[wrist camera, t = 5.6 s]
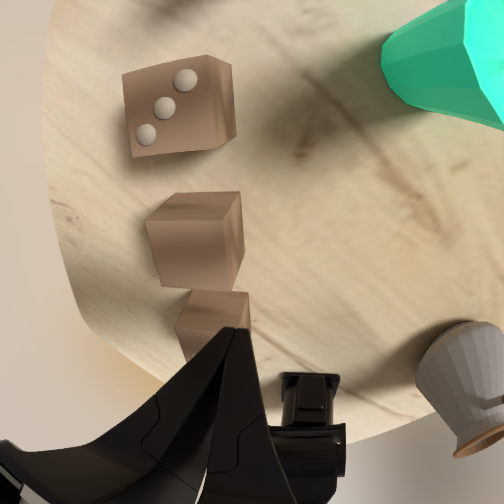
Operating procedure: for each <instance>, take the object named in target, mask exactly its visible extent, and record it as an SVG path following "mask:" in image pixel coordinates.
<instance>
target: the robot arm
mask: <svg viewBox="0 0 504 504" xmlns="http://www.w3.org/2000/svg"><path fill="white" fill-rule="evenodd" d="M339 382H340V376H339V375H327V374H298V373H284V374H283V382H282V402H284V406H283V414H282V422H281V426H270V425H268V423H267V418H266V414H265V409H264V404H263V398H262V393H261V388H260V383H259V378H258V372H257V367H256V362H255V356H254V351H253V345H252V340H251V334H250V330H249V329H248V328H240V327H238V328H236V327H229V326H224V327H223V328H222V329H221V330H220V331H219V332H218V333H217V334H216V335H215V336H214V337H213V338H212V339H211V340H210V341H209V342H208V343H207V344H206V345H205V346H204V347H203V348H202V349H201V350H200V351H199V352H197V353H196V354H195V355H194V356H193V357H192V358H191V359H190V360H189V361H188V362H187V363H186V364H185V365H184V366H183V367H182V368H181V369H180V370H179V371H178V372H177V373H176V374H175V375H174V376H173V377H172V378H171V379H170V380H169V381H168V382H167V383H165V385H163V386H162V387H161V388H160V389H159V390H158V391H157V392H156V394H154V395H153V396H152V397H151V398H149V399H148V400H147V401H146V402H145V403H144V404H143V405H142V406H141V407H139V408H138V409H137V410H136V411H135V412H133V413H132V414H131V415H130V416H128V417H127V418H126V419H124V420H123V421H122V422H120V423H119V424H117V425H116V426H114V427H113V428H112V429H110V430H109V431H107V432H106V433H104V434H103V435H102V436H100V437H99V438H97V439H96V440H94V441H92V442H90V443H88V444H85V445H82V446H77V447H71V448H64V449H56V450H48V451H37V452H26V451H23V450H21V449H20V448H19V447H17V446H16V445H14V444H13V443H12V442H10V441H9V440H6V439H5V440H1V441H0V504H195V501H196V498H197V496H198V492H199V489H200V486H201V484H202V481H203V477H204V475H205V471H206V469H207V471H206V473H207V475H206V478H205V483H204V487H203V490H202V493H201V495H200V498H199V501H198V502H197V504H327V503H328V502H329V500H330V499H331V497H332V496H333V495H334V494H335V492H336V487H337V477H344V476H345V464H346V425H345V423H341V424H336V425H333V399H334V397H335V394H336V391H337V388H338V385H339ZM337 443H339V444H337Z"/></svg>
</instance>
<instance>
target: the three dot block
mask: <svg viewBox="0 0 504 504" xmlns="http://www.w3.org/2000/svg"><path fill="white" fill-rule="evenodd" d="M122 82H123V92H124V102H125V110H126V118H127V126H128V133H129V140H130V146H131V153H132V158H134V157H142V156H149V155H157V154H166V153H175V152H185V151H197V150H210V149H216V148H218V147H219V146H221V145H223V144H224V143H226V142H227V141H229V140H230V139H232V138H234V137H235V136H236V123H235V110H234V96H233V82H232V68H231V64H229V63H227V62H224V61H222V60H219V59H217V58H215V57H212V56H209V55H203V56H197V57H191V58H186V59H181V60H176V61H171V62H167V63H163V64H159V65H154V66H151V67H147V68H143V69H139V70H136V71H132V72H129V73H126V74H123V75H122Z"/></svg>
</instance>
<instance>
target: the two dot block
mask: <svg viewBox="0 0 504 504" xmlns="http://www.w3.org/2000/svg"><path fill="white" fill-rule="evenodd" d="M224 326H229V327H236V328H238V327H240V328H248V329H249V330H250V334H251V321H250V307H249V294H248V292H234V291H231V292H224V291H210V290H198V289H193V291H192V293H191V295H190V297H189V299H188V300H187V302H186V304H185V306H184V308H183V310H182V312H181V314H180V316H179V318H178V320H177V322H176V324H175V326H174V327H175V330H176V333H177V336H178V339H179V342H180V345H181V348H182V351H183V354H184V357H185V359H186V362H188V361H189V360H190V359H191V358H192V357H193V356H194V355H195V354H196V353H197V352H199V351H200V350H201V349H202V348H203V347H204V346H205V345H206V344H207V343H208V342H209V341H210V340H211V339H212V338H213V337H214V336H215V335H216V334H217V333H218V332H219V331H220V330H221V329H222V328H223V327H224Z"/></svg>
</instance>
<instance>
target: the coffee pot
mask: <svg viewBox="0 0 504 504" xmlns="http://www.w3.org/2000/svg"><path fill="white" fill-rule="evenodd" d="M415 381H416V387H417V388H418V389H419V391H420V392H421V393H422V394H423V396H424V397H425V398H426V399H427V400H428V402H429V403H430V404H431V405H432V406H433V408H434V409H435V410H436V411H437V413H438V414H439V415H440V416H441V417H442V419H443V420H444V421H445V422H446V423H447V425H448V426H449V427H450V429H451V430H452V431H453V432H454V434H455V435H456V436H457V449H456V451H455V452H454V454H453V457H454V458H462V457H466V456H469V455H472V454H474V453H477V452H479V451H481V450H483V449H485V448H487V447H489V446H491V445H492V444H494V443H496V442H497V441H499V440H500V439H502V438H503V437H504V415H503V405H504V334H503V332H502V331H501V330H500V329H499V328H498V327H497V326H495V325H493V324H491V323H488V322H464V323H460V324H457V325H455V326H453V327H451V328H449V329H448V330H446V331H444V332H443V333H442V334H441V335H439V336H438V337H437V338H436V339H435V340H434V341H433V342H432V344H431V345H430V347H429V348H428V350H427V352H426V353H425V355H424V356H423V358H422V359H421V361H420V363H419V366H418V369H417V372H416V377H415Z"/></svg>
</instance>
